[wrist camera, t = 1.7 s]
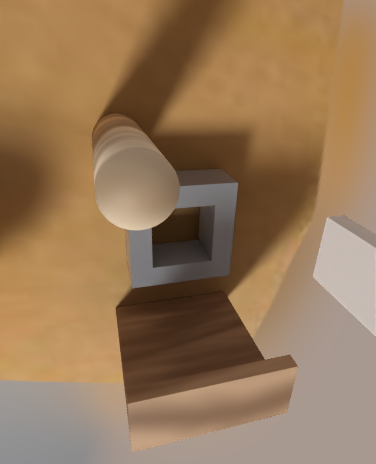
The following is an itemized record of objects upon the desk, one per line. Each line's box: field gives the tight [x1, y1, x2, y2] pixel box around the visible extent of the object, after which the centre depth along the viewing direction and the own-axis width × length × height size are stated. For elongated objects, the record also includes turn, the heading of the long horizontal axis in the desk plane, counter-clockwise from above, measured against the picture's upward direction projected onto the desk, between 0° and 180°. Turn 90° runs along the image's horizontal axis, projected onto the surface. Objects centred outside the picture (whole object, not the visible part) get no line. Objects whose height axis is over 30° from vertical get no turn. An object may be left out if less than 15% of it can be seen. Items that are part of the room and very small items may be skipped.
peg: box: [92, 113, 180, 230], centre depth 23 cm, size 4×4×14 cm
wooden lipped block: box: [116, 292, 298, 452], centre depth 32 cm, size 6×13×15 cm, turn 88°
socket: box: [125, 169, 238, 288], centre depth 32 cm, size 10×10×4 cm
